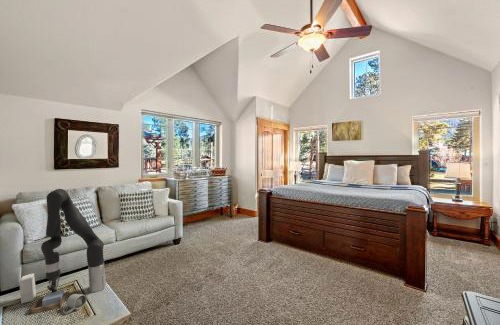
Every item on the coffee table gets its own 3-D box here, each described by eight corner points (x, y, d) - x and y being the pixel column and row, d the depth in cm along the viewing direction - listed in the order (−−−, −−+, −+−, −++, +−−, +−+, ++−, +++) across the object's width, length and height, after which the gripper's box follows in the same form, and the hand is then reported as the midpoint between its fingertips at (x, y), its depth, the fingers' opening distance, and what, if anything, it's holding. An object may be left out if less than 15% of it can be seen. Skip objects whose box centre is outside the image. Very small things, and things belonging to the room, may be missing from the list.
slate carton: (64, 296, 152) (64, 289, 152) (61, 304, 145) (60, 296, 145) (46, 301, 148) (46, 293, 148) (42, 308, 141) (42, 300, 141)
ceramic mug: (77, 301, 146) (76, 290, 146) (87, 304, 144) (86, 292, 143) (59, 313, 136) (58, 301, 136) (69, 316, 134) (68, 303, 133)
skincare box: (33, 300, 148) (31, 278, 147) (20, 304, 145) (18, 281, 144) (36, 294, 155) (34, 272, 154) (23, 297, 152) (22, 275, 151)
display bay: (67, 295, 153) (67, 291, 153) (60, 307, 141) (60, 303, 141) (39, 301, 147) (38, 297, 147) (29, 314, 135) (28, 310, 135)
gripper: (56, 272, 146) (57, 299, 147) (63, 263, 158) (65, 287, 159) (41, 275, 143) (42, 302, 144) (50, 265, 155) (51, 290, 156)
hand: (54, 294), depth 152 cm, fingers closed
